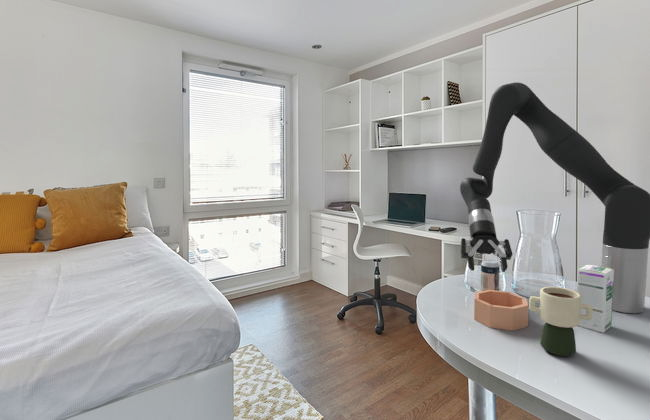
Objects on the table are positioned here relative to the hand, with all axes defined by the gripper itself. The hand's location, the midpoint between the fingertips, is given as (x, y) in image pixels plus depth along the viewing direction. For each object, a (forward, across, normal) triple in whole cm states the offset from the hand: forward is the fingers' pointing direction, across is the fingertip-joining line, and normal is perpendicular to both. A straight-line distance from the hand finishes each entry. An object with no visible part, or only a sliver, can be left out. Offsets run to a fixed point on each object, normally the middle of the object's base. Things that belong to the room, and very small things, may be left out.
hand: (488, 270), depth 101 cm
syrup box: (+17, +21, -4) cm, 27 cm away
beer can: (+8, 0, +5) cm, 9 cm away
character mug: (+27, +8, -14) cm, 31 cm away
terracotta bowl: (+16, 0, -4) cm, 17 cm away
